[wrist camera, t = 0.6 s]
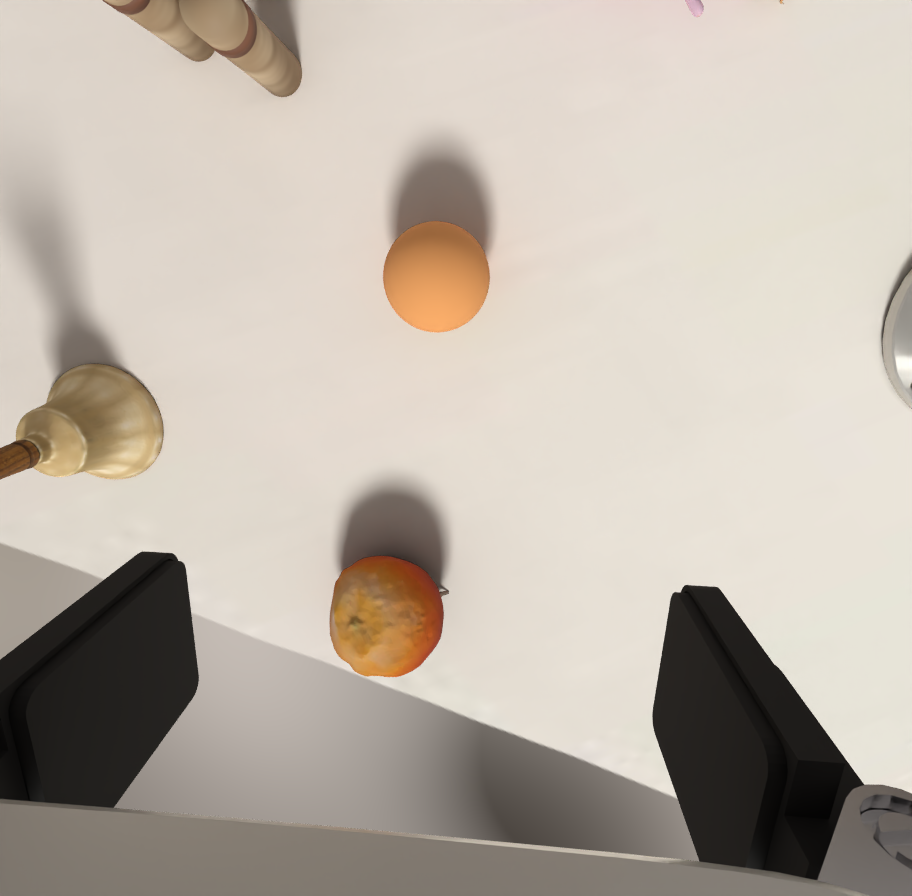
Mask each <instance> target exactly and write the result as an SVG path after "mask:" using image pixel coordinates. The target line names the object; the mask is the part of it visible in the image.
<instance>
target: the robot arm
mask: <svg viewBox="0 0 912 896" xmlns="http://www.w3.org/2000/svg"><path fill="white" fill-rule="evenodd" d="M883 357H884V363H885V367H886V370H887V374H888V377H889V380H890V382H891V383H892V385H893V387H894V389H895V391H896V392H897V394H898V395H899V396H900V398H901V399H902V400H903V401H904V402H905V403H906V404H907V405H908V406H909V407H910V408H911V409H912V269H911V271H910V272H909V273H908V274H907V276H906V277H905V278H904V280H903V282H902V284H901V285H900V287H899V289H898V291H897V293H896V294H895V296H894V298H893V300H892V303H891V306H890V309H889V312H888V315H887V318H886V321H885V328H884V334H883ZM198 681H199V675H198V667H197V658H196V650H195V642H194V634H193V625H192V617H191V608H190V600H189V592H188V583H187V575H186V568H185V565H184V563H183V562H181V561H178V559H177V557H176V556H175V555H174V554H173V553H159V552H140V553H139V554H137V555H136V556H134V557H133V558H132V559H131V560H129V561H128V562H127V563H125V564H124V565H123V566H121V567H120V568H119V569H118V570H116V571H115V572H114V573H112V574H111V575H110V576H108V577H107V578H106V579H105V580H103V581H102V582H101V583H99V584H98V585H97V586H96V587H94V588H93V589H92V590H90V591H89V592H88V593H86V594H85V595H84V596H83V597H81V598H80V599H79V600H77V601H76V602H75V603H73V604H72V605H71V606H69V607H68V608H67V609H66V610H64V611H63V612H62V613H60V614H59V615H58V616H56V617H55V618H54V619H53V620H51V621H50V622H49V623H47V624H46V625H45V626H43V627H42V628H41V629H40V630H38V631H37V632H36V633H34V634H33V635H32V636H31V637H29V638H28V639H27V640H25V641H24V642H23V643H21V644H20V645H19V646H17V647H16V648H15V649H14V650H12V651H11V652H10V653H8V654H7V655H6V656H5V657H3V658H2V659H1V660H0V896H912V794H911V793H909V792H906V791H904V790H902V789H897V788H893V787H889V786H885V785H864V784H863V783H862V781H861V780H860V778H859V777H858V776H857V774H856V773H855V772H854V770H853V769H852V767H851V766H850V765H849V763H848V762H847V761H846V759H845V758H844V756H843V755H842V754H841V752H840V751H839V750H838V748H837V747H836V745H835V744H834V743H833V741H832V740H831V739H830V737H829V736H828V734H827V733H826V732H825V730H824V729H823V728H822V726H821V725H820V723H819V722H818V721H817V719H816V718H815V717H814V715H813V714H812V712H811V711H810V710H809V708H808V707H807V706H806V704H805V703H804V701H803V700H802V699H801V697H800V696H799V695H798V693H797V692H796V690H795V689H794V688H793V686H792V685H791V684H790V682H789V681H788V679H787V678H786V677H785V675H784V674H783V672H782V671H781V670H780V669H779V668H778V667H777V666H776V665H774V664H773V662H772V661H771V659H770V658H769V657H768V655H767V654H766V653H765V651H764V650H763V648H762V647H761V646H760V644H759V643H758V641H757V640H756V639H755V637H754V636H753V634H752V633H751V632H750V630H749V629H748V628H747V626H746V625H745V623H744V622H743V621H742V619H741V618H740V616H739V615H738V614H737V612H736V611H735V609H734V608H733V607H732V605H731V604H730V603H729V601H728V600H727V598H726V597H725V596H724V594H723V593H722V591H721V590H720V589H719V588H718V587H707V586H691V585H685V586H684V587H683V589H682V591H681V593H678V592H674V593H673V594H672V597H671V601H670V607H669V613H668V619H667V626H666V632H665V638H664V644H663V650H662V657H661V663H660V669H659V675H658V681H657V688H656V694H655V700H654V706H653V727H654V732H655V735H656V738H657V741H658V744H659V747H660V749H661V752H662V755H663V758H664V761H665V764H666V767H667V769H668V772H669V775H670V778H671V781H672V784H673V787H674V789H675V792H676V795H677V798H678V801H679V804H680V807H681V809H682V812H683V815H684V818H685V821H686V824H687V826H688V829H689V832H690V835H691V838H692V841H693V844H694V846H695V849H696V852H697V855H698V858H699V861H700V862H698V861H691V860H684V859H672V858H661V857H650V856H641V855H632V854H621V853H612V852H603V851H591V850H582V849H571V848H561V847H549V846H539V845H528V844H518V843H507V842H496V841H486V840H475V839H466V838H465V839H464V838H454V837H444V836H434V835H423V834H411V833H400V832H389V831H378V830H367V829H366V830H365V829H355V828H344V827H333V826H322V825H310V824H299V823H286V822H275V821H264V820H253V819H241V818H230V817H216V816H204V815H193V814H180V813H169V812H155V811H144V810H132V809H119V808H114V806H115V805H116V804H117V802H118V801H119V799H120V798H121V797H122V795H123V794H124V792H125V791H126V790H127V788H128V787H129V786H130V784H131V783H132V781H133V780H134V778H135V777H136V776H137V774H138V773H139V772H140V770H141V769H142V768H143V766H144V765H145V764H146V762H147V761H148V759H149V758H150V757H151V755H152V754H153V752H154V751H155V750H156V748H157V747H158V746H159V744H160V743H161V741H162V740H163V738H164V737H165V736H166V734H167V733H168V732H169V730H170V729H171V727H172V726H173V725H174V723H175V722H176V721H177V719H178V718H179V716H180V715H181V714H182V712H183V711H184V709H185V708H186V707H187V705H188V704H189V702H190V701H191V700H192V698H193V697H194V695H195V693H196V690H197V686H198Z"/></svg>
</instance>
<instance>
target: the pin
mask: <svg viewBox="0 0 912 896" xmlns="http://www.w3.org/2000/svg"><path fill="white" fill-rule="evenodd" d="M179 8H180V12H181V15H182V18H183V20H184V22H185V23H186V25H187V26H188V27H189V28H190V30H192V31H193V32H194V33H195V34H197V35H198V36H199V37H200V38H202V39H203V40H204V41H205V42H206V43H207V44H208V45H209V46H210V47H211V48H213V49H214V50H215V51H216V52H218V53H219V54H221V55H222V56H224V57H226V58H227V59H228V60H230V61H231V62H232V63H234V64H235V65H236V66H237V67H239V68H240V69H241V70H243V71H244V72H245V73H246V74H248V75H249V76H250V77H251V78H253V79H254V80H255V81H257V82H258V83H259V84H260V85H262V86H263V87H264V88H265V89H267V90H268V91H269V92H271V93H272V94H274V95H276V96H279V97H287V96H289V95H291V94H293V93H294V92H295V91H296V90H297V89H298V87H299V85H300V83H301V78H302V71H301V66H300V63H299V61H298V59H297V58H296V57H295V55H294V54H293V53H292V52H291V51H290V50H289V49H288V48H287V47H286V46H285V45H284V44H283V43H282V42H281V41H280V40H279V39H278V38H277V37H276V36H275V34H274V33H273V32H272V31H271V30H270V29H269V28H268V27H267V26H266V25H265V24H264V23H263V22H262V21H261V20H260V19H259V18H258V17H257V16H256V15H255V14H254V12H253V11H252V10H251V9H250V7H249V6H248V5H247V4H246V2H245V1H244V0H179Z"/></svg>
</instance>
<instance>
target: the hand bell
mask: <svg viewBox="0 0 912 896" xmlns="http://www.w3.org/2000/svg"><path fill="white" fill-rule="evenodd" d="M162 442H163V423H162V418H161V415H160V412H159V409H158V407H157V405H156V403H155V401H154V399H153V398H152V396H151V395H150V394H149V392H148V391H147V390H146V389H145V388H144V387H143V386H142V385H141V384H140V383H139V382H138V381H137V380H136V379H135V378H133V377H132V376H131V375H129V374H127V373H126V372H124V371H121V370H120V369H117V368H115V367H112V366H108V365H102V364H85V365H80V366H77V367H74V368H72V369H70V370H69V371H67V372H66V373H64V374H63V375H62V376H61V377H60V378H59V379H58V380H57V381H56V383H55V384H54V385H53V387H52V389H51V391H50V393H49V395H48V398H47V403H46V404H44V405H42V406H40V407H38V408H36V409H34V410H32V411H30V412H28V413H27V414H26V415H24V416H23V417H22V419H21V420H20V422H19V424H18V426H17V430H16V441H15V442H13V443H11V444H9V445H6V446H4V447H2V448H0V479H2V478H5V477H7V476H10V475H13V474H16V473H18V472H21V471H24V470H25V469H29V468H32V467H33V468H34V469H36V470H37V471H39V472H41V473H43V474H46V475H49V476H54V477H64V476H69V475H73V474H76V473H79V472H84V471H85V472H87V473H89V474H91V475H94V476H97V477H101V478H106V479H126V478H130V477H134V476H136V475H138V474H140V473H142V472H144V471H145V470H146V469H147V468H149V467H150V466H151V465H152V464H153V462H154V461H155V460H156V458H157V456H158V455H159V453H160V451H161V447H162Z"/></svg>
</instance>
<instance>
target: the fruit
mask: <svg viewBox="0 0 912 896" xmlns="http://www.w3.org/2000/svg"><path fill="white" fill-rule="evenodd" d="M448 592H449V591H448V590H447V591H442V592H439V589H438V587H437V586H436V584H435V583H434V581H433V580H432V579H431V577H430V576H429V575H428V573H427V572H426V571H424V570H423V569H421V568H420V567H419V566H417V565H415V564H413V563H410V562H408V561H405V560H402V559H399V558H395V557H390V556H373V557H366V558H363V559H361V560H358V561H357V562H355V563H354V564H353V565H352V566H350V567H348V568H346V569H344V570H343V571H342V573H341V575H340V577H339V578H338V579H337V581H336V583H335V587H334V593H333V599H332V605H331V610H330V636H331V640H332V642H333V646H334V649H335V651H336V653H337V654H338V656H339V657H340V658H341V659H343V660H344V661H346V662H347V663H349V664H350V666H351V667H352V668H353V670H354V671H355V672H357V673H359V674H361V675H364V676H384V677H398V676H402V675H404V674H407V673H409V672H411V671H413V670H414V669H416V668H417V667H419V666H420V665H421V664H422V663H423V662H424V660H425V659H426V658H427V657H428V656H429V655H430V653H431V652H432V651H433V649H434V648H435V647H436V645H437V644H438V642H439V640H440V637H441V633H442V627H443V616H444V612H443V603H442V599H441V597H442V596H443V595H446V594H449V593H448Z"/></svg>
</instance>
